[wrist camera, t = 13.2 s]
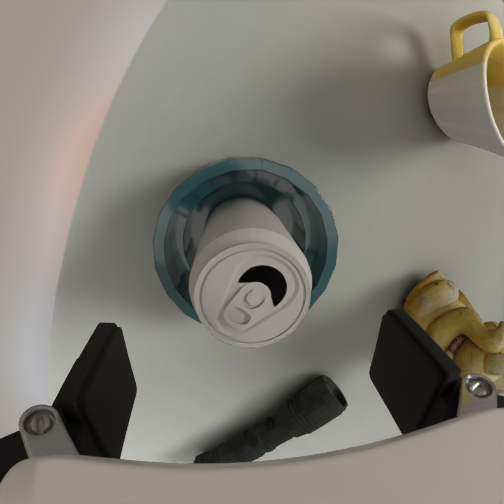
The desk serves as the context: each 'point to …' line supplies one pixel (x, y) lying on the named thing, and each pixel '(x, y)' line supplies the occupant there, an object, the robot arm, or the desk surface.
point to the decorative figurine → (458, 328)
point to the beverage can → (249, 276)
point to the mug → (472, 88)
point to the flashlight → (282, 424)
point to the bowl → (233, 186)
